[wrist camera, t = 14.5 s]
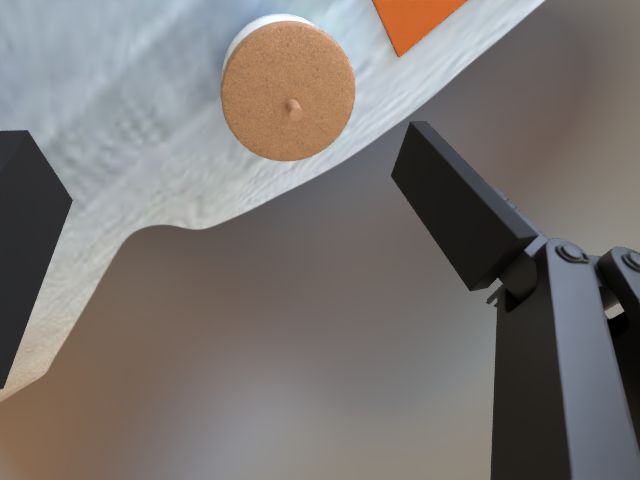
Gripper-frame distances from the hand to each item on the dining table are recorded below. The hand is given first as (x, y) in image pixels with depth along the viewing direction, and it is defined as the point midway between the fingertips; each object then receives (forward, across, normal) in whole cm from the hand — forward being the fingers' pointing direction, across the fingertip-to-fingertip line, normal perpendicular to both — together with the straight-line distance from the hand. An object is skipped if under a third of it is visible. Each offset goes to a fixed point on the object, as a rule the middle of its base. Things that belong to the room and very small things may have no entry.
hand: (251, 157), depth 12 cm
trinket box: (+21, +5, -4) cm, 22 cm away
